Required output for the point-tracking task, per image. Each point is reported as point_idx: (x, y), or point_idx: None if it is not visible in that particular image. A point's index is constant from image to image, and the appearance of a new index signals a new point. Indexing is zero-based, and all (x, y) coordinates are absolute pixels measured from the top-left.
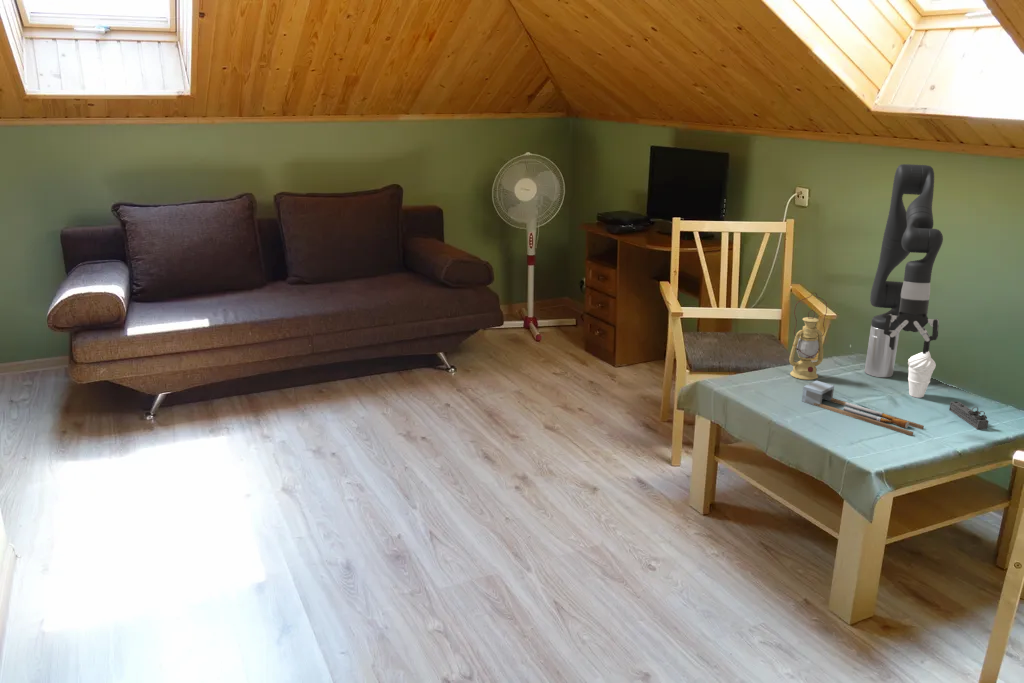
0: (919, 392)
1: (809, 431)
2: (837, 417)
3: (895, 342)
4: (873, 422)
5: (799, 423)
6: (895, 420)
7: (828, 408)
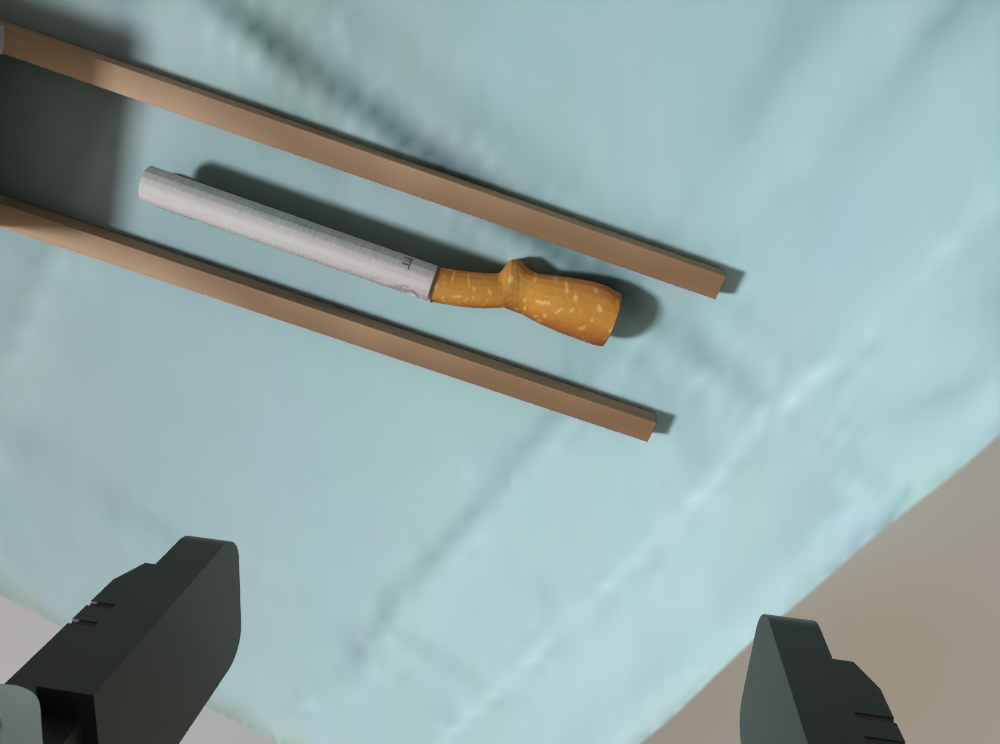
0: None
1: None
2: (177, 348)
3: (169, 615)
4: (399, 354)
5: (40, 532)
6: (530, 316)
7: (71, 245)
